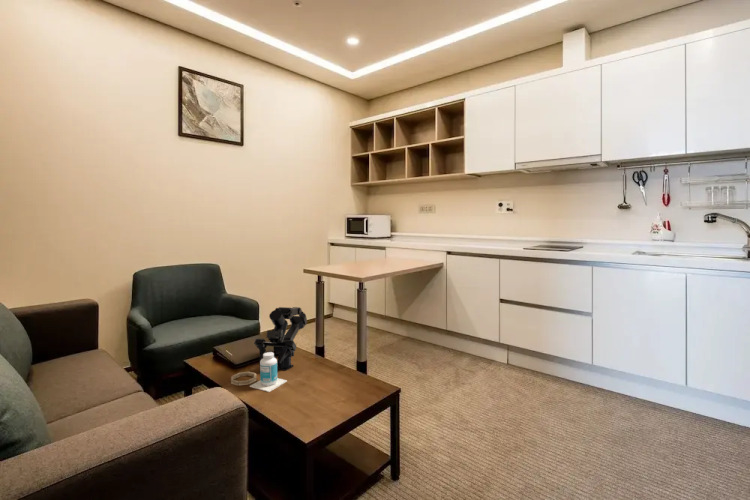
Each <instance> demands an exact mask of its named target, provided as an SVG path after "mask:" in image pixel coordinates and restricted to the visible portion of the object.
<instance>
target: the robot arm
mask: <svg viewBox="0 0 750 500" xmlns="http://www.w3.org/2000/svg"><path fill="white" fill-rule="evenodd" d="M269 319H270V322H272V325H274V328H273V329H272V330H267V331H266V334H265V335H266V337H265V338H266V339H267V340H268V341H266V340H265V338H258V337H257V338H255V340H254V345H255V347H256V348H257V349H258V351H259V362H260V361H261V359H263V354H264V353H266V352H267V350H266V348H267V347H273V353H274V357H275V358H277V370H283V371H287V370H290V369H291V368H293V367H294V364H292V357H294V356H295V351H296V350H297V344H296V342H295V341H294V339H296V336H297V334H299V333H298V332H299V331H300V330H302V329H304V327H306V325H307V323H308V319H307V315H306V313H305V312H303V310H302V308H301V307H297V306H294V307H293V306H292V307H283V306H279V307H276V308H275V309H274V310H272V311H271V312H270V313H269ZM287 320H289V322H290V326H289V323H288V321H287ZM288 327H289V328H288ZM287 328H288V330H287Z"/></svg>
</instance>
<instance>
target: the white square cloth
mask: <svg viewBox="0 0 750 500" xmlns="http://www.w3.org/2000/svg"><path fill="white" fill-rule="evenodd" d="M287 382H288V380H286V379H283V378H279V377H277V383H276V384H274V385H271V386H264V385H262V384H261V382H260V380H258V381H255V382H253V383H251V384H250V385H249V387H250V388H253V389H255V390H260V391H263V392H267V393H270V392H272V391H273V390H275V389H277V388H279V387H281V386H282V385H284V384H285V383H287Z"/></svg>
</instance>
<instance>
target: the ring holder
mask: <svg viewBox="0 0 750 500" xmlns="http://www.w3.org/2000/svg"><path fill="white" fill-rule="evenodd" d="M246 376H249V377H251V378H250V379H248V380H236V379H237V378H239V377H246ZM257 378H258V377H257V373H256V372H252V371H243V372H241V371H240V372H238V373H235V374H233V375H231V377H230V384H231V385H234V386H239V387H240V386H246V385H252V384H254V383H256V382H257Z"/></svg>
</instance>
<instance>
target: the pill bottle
mask: <svg viewBox="0 0 750 500" xmlns="http://www.w3.org/2000/svg"><path fill="white" fill-rule="evenodd" d="M277 361H278V358H277V357H275V355H274V351H273V352H272V351H268V352H267V351H265V353H264V354H263V359H261V361H260V360H259V374H260V375H259V377H260V378H259V379H260V380H259V381H260V382H261V384H262V385H264V386H271V385H274V384H276V383H277V378H278V369H277V366H278V362H277Z"/></svg>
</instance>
